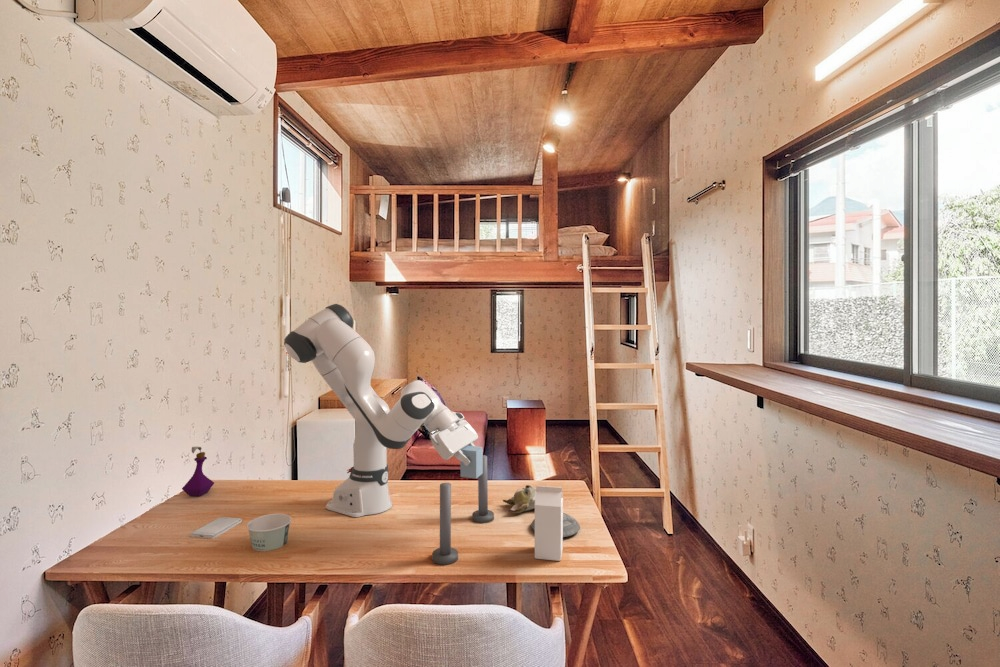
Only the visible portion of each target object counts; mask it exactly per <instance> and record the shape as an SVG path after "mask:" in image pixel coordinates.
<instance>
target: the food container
mask: <svg viewBox="0 0 1000 667" xmlns="http://www.w3.org/2000/svg"><path fill="white" fill-rule="evenodd" d="M292 520H293V518H292V516H290V515H288V514H286V513H269V514H264V515H261V516H258V517H255V518H252V519H251V520H249V521H248V522H247V523H246V526H245V527H246V529H247V530H248V533H249V537H250V538H249V539H250V543H251V547H252V549H253V550H254V551H257V552H267V551H273V550H276V549H280V548H282V547H283V546H285V545H286V544H287V542H288V537H289V530H290V524H291V522H292Z"/></svg>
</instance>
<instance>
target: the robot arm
mask: <svg viewBox="0 0 1000 667" xmlns="http://www.w3.org/2000/svg"><path fill="white" fill-rule="evenodd" d="M354 323H355V322H354V319H353V317H352V314H351V313H350V312H349V310H348V309H347V308H346V307H345V306H343V305H342V304H338V303H333V304H330V305H328V306H326V307H325V308H324V309H323V310H321V311H318V312H317V313H315V314H313V315H312V316H311V315H310V317H308V319H307V320H305V321H304V322H302V323H301V324H300V325H298V327H296V328H295V329H294V330H292V331H290V332H289V333H288V334H287V335H286V336H285V338H284V341H283V344H284V348H285V349H286V352H287V354H288V355H289V356H290V358H292V359H294V360H295V361H296V362H298V363H300V364H305V363H309V362H312V364H313V366H314V367H315V369H316V370H317V372H318V373H319V374H320V375H321V377H322V379H323V380H324V381H325V382H326V384H327V385H328V386H329V387H330V389H331V390H332V392H333V393H334V394H335V395H336V396H337V398H338V399H339V401H340V402H341V403H342V405H343V406H344V407H345V408H346V410H347V411H348V413H349V414H350V415H351V416H352V418H353V419H354V421H355V432H354V440H353V466H352V467H350V468H349V469H347V470H346V471H347V472H346V474H349V473H350V474H349V475H348V476H349V477H348V478H346V479H345V480H343V482H342V483H339V485H338V486H337V487H336V488H335V489H334V491H333V496H332V499H331V500H329V501H328V502H327V503H326V505H325V509H326V510H329V511H332V512H336V513H339V514H343V515H344V516H345V515H346V516H349V517H352V518H359V517H363V516H369V515H377V514H380V513H384V512H386V511H388V510H389V509H392V506H393V502H392V499H391V494H390V492H389V491H390V489H389V465H388V462H387V461H388V460H387V459H388V454H387V453H388V451H387V450H388V449H391V450H400V449H403V448H405V447H406V445H407V444H408V442H409V441H410V439H411V438H412V436H413V435H415V433H416V432H417V431H418V430H419V429H420V427H421V426H422V425H424V427H425V429H426V430H427V431H428V432H429V439H430V440H431V441H430V442H431V445H432V446H433V448H434V449H435V451H436V452H437V453H438V455H439V456H440V457H441V458H442V459H443V460H445V461H448V460H450V459H451V458H453V457H455V459H456V460H458V461H459V462H460V461H462V462H463V463H464V464H465V465H466V466H467V465H469V464H470V463H471V459H470V458H469V457H466V456H465V455H464V454H463V452H462V451H461V449H462V448H464V447H466V446H467V445H468V446H476V445H475V444H474V443H475V442H477V441H478V439H479V435H478V432H476V429H475V428H474V427H472V425H471V424H470V423H469V422H468V421H467V420H466V419H465V416H464V415H463V413H461V412H456V411H453V410H450V408H449V407H448V406H447V405H445V404H444V403H443V402H442V400H441V397H440V396H438V394H437V393H436V392H435V391H434V390H433V389H432V388H431V386H429V385H427V383H425V382H424V381H422V380H420V379H417V380H416V379H415V380H412V381H411V382H409V383H407V384H406V385H405V386H404V387H403V388H402V390H401V391H400V397H399V399H398V400H397V401H396V402H395V404H394V405H393V406H392V408H391V409H390V407H389V405H388V403H387V402H386V401H385V400H384V399H383V398H381V397H380V396H379V395H378V394H377V393H376V391H375V390H374V389H373V387H372V386H371V382H372V375H373V371H374V368H375V366H376V365H375V364H376V356H375V352H374V350H373V348H372V347H371V345H370V344H369V343H368V342H367V341H366V340H365V339H364V338H363V337H362V336H361V335H360V334H359V333H358V332H357V331H356V330H355V329H354Z"/></svg>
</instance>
